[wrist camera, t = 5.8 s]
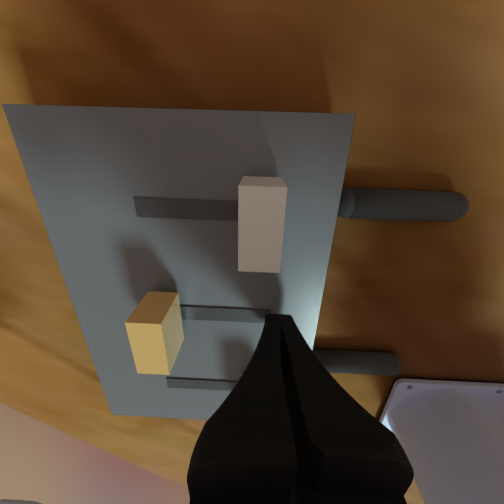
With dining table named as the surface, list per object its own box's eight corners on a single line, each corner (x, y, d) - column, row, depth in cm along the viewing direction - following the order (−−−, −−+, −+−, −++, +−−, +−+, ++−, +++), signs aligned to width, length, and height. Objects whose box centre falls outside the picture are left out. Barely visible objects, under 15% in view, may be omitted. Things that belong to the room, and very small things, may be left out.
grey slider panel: (334, 120, 12) (356, 113, 9) (293, 387, 20) (299, 426, 18) (59, 112, 12) (-1, 103, 9) (131, 378, 21) (111, 416, 18)
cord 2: (397, 348, 18) (409, 365, 17) (391, 362, 19) (402, 381, 18) (306, 343, 18) (309, 360, 17) (303, 358, 19) (307, 376, 18)
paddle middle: (178, 292, 13) (161, 324, 10) (184, 338, 14) (169, 374, 12) (148, 291, 13) (124, 322, 10) (156, 337, 14) (137, 373, 12)
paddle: (281, 177, 10) (287, 187, 8) (276, 247, 11) (279, 272, 9) (243, 175, 10) (238, 185, 8) (242, 246, 11) (238, 271, 9)
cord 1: (458, 189, 13) (482, 195, 12) (447, 217, 14) (469, 226, 13) (332, 185, 13) (340, 190, 12) (327, 213, 14) (335, 221, 13)
